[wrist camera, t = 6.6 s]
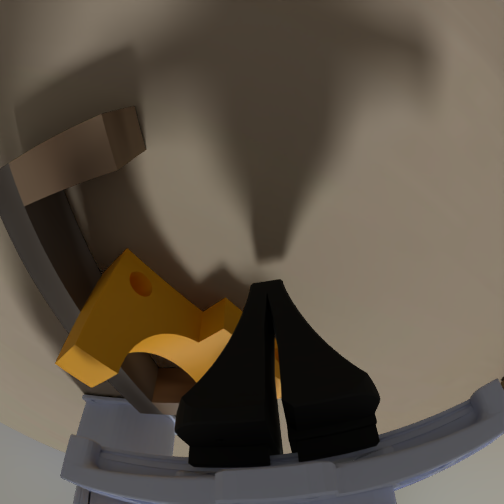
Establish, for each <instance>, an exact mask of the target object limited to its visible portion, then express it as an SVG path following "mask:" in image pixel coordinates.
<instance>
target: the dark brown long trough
mask: <svg viewBox="0 0 504 504" xmlns="http://www.w3.org/2000/svg"><path fill="white" fill-rule="evenodd" d="M145 150H146V148H145V144H144V141H143V137H142V133H141V129H140V126H139V122H138V118H137V114H136V110H135V106H132V107H128V108H123V109H119V110H115V111H111V112H107V113H103V114H100V115H98V116H95V117H93V118H91V119H89V120H86V121H84V122H82V123H80V124H78V125H76V126H73V127H71V128H69V129H67V130H65V131H63V132H61V133H59V134H57V135H56V136H54V137H52V138H50V139H48V140H46V141H44V142H43V143H41V144H39V145H37V146H36V147H34V148H32V149H30V150H29V151H27V152H25V153H24V154H22V155H21V156H19V157H17V158H16V159H14V160H13V161H11V162H10V163H8V164H7V165H5V166H4V167H2V168H1V169H0V216H1V218H2V221H3V223H4V225H5V228H6V230H7V232H8V234H9V236H10V238H11V240H12V242H13V244H14V246H15V248H16V250H17V252H18V254H19V256H20V258H21V260H22V262H23V264H24V265H25V267H26V269H27V271H28V273H29V274H30V276H31V278H32V279H33V281H34V283H35V284H36V286H37V288H38V289H39V291H40V293H41V294H42V296H43V297H44V299H45V300H46V302H47V303H48V305H49V307H50V308H51V309H52V311H53V312H54V314H55V315H56V317H57V318H58V320H59V321H60V322H61V324H62V325H63V327H64V328H65V329H66V331H67V332H68V333H70V331H71V329H72V327H73V325H74V324H75V322H76V320H77V318H78V316H79V314H80V312H81V310H82V309H83V307H84V305H85V303H86V301H87V300H88V298H89V296H90V294H91V293H92V291H93V289H94V287H95V286H96V284H97V282H98V281H99V279H100V277H101V276H102V275H101V273H100V271H99V269H98V267H97V265H96V263H95V261H94V259H93V257H92V255H91V253H90V251H89V249H88V247H87V245H86V243H85V241H84V238H83V236H82V234H81V232H80V229H79V227H78V225H77V223H76V220H75V218H74V216H73V213H72V211H71V208H70V206H69V203H68V201H67V198H66V196H65V193H64V189H66V188H69V187H72V186H74V185H77V184H80V183H82V182H85V181H88V180H91V179H93V178H96V177H99V176H102V175H105V174H108V173H111V172H114V171H117V170H119V169H120V168H121V167H123V166H124V165H125V164H127V163H128V162H130V161H131V160H132V159H134V158H135V157H136V156H138V155H139V154H141V153H142V152H144V151H145ZM107 380H108V381H109V382H110V384H111V385H112V386H113V387H114V388H115V389H116V390H117V391H118V392H119V393H120V394H121V395H122V396H123V397H124V398H125V399H126V400H127V401H128V402H129V403H130V404H131V405H132V406H133V407H134V408H135V409H136V410H137V411H138V412H139V413H142V414H160V415H176V413H177V409H178V406H179V403H180V399H181V397H182V396H183V395H184V394H185V393H187V392H188V391H189V390H190V389H191V388H192V387H193V386H194V385H195V384H196V382H195V380H194V379H193V378H192V377H191V376H190V375H189V374H188V373H187V372H186V371H184V370H183V369H182V368H158V366H157V365H156V363H155V362H154V361H153V359H152V358H151V356H150V355H149V353H147V352H132V353H128V355H127V356H126V357H125V359H124V361H123V363H122V365H121V367H120V370H119V372H118V374H116V375H115V376H113V377H111V378H109V379H107Z"/></svg>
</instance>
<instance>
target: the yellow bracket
mask: <svg viewBox="0 0 504 504" xmlns="http://www.w3.org/2000/svg"><path fill="white" fill-rule="evenodd" d="M241 315H242V311H241V310H240V309H239V308H238V307H236V306H235V305H234V304H233V303H232V302H231V301H229V300H228V299H227V298H226V297H225V298H224V299H222V300H221V301H219V302H218V303H216V304H214V305H213V306H211V307H210V308H208V309H207V310H205V311H203V312H202V311H201V310H200V309H199V308H197V307H196V306H195V305H194V304H192V303H191V302H190V301H189V300H187V299H186V298H185V297H184V296H182V295H181V294H180V293H179V292H177V291H176V290H175V289H174V288H173V287H171V286H170V285H169V284H168V283H167V282H165V281H164V280H163V279H162V278H161V277H160V276H158V275H157V274H156V273H155V272H154V271H153V270H151V269H150V268H149V267H148V266H147V265H146V264H144V263H143V262H142V261H141V260H140V259H139V258H138V257H137V256H135V255H134V254H133V253H132V252H131V251H130V250H129V249H128V248H127V249H126V250H125V251H124V252H123V253H122V254H121V255H120V256H119V257H118V258H117V259H116V260H115V261H114V262H113V263H112V264H111V265H110V266H109V267H108V268H107V270H106V271H105V272H104V273H103V274H102V276H101V277H100V279H99V281H98V282H97V284H96V286H95V287H94V289H93V291H92V293H91V294H90V296H89V298H88V300H87V301H86V303H85V305H84V307H83V309H82V310H81V312H80V314H79V316H78V318H77V320H76V322H75V324H74V325H73V327H72V329H71V331H70V333H69V335H68V337H67V339H66V341H65V343H64V345H63V347H62V349H61V352H60V354H59V356H58V358H57V360H56V362H55V364H56V365H58V366H59V367H61V368H62V369H64V370H65V371H66V372H68V373H69V374H71V375H72V376H74V377H75V378H77V379H78V380H80V381H81V382H83V383H85V384H86V385H88V386H89V387H91V388H92V387H94V386H96V385H98V384H100V383H102V382H104V381H105V380H107V379H109V378H111V377H113V376H115V375H116V374H118V372H119V370H120V367H121V365H122V363H123V361H124V359H125V357H126V356H127V355H128V353H132V352H147V353H152V354H156V355H159V356H161V357H164V358H166V359H168V360H170V361H172V362H173V363H175V364H177V365H178V366H179V367H181V368H182V369H183V370H184V371H186V372H187V373H188V374H189V375H190V376H191V377H192V378H193V379H194V380H195V382H196V383H197V382H198V381H199V380H200V379H201V378H202V376H203V375H204V374H205V373H206V372H207V371H208V369H209V368H210V367H211V366H212V365H213V363H214V362H215V361H216V359H217V358H218V356H219V355H220V354H221V352H222V351H223V349H224V348H225V346H226V344H227V343H228V341H229V339H230V338H231V336H232V334H233V332H234V330H235V328H236V326H237V324H238V322H239V320H240V317H241ZM275 384H276V393H277V399H279V398H281V382H280V368H279V356H278V346H277V341H276V338H275Z"/></svg>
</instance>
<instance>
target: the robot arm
mask: <svg viewBox="0 0 504 504" xmlns="http://www.w3.org/2000/svg"><path fill="white" fill-rule="evenodd" d="M275 337H276V341H277V346H278V356H279V368H280V382H281V398H282V404H283V408H284V413H285V418H286V422H287V429H288V439H289V442H290V447H291V451H292V453H289V454H283V448H282V439H281V430H280V421H279V412H278V403H277V393H276V384H275ZM82 398H83V400H85V401H86V405H85V408H84V411H83V414H82V418H81V421H80V424H79V428H78V431H77V435H73V434H72V435H71V436H70V439H69V443H68V447H67V450H66V455H65V458H64V462H63V467H62V471H61V475H60V476H61V478H62V479H64V480H67V481H69V482H71V483H73V484H75V485H77V486H76V491H75V496H74V502H73V504H397V503H396V499H395V493H394V491H395V490H398V489H401V488H403V487H406V486H408V485H411V484H414V483H416V482H418V481H421V480H423V479H425V478H428V477H430V476H432V475H434V474H436V473H438V472H440V471H442V470H445V469H446V468H449V467H451V466H452V465H454V464H456V463H458V462H460V461H461V460H464V459H465V458H467V457H469V456H471V455H472V454H474V453H476V452H478V451H479V450H481V449H482V448H484V447H486V446H487V445H489V444H491V443H492V442H493V441H495V440H496V439H497V438H498V437H500V436H501V435H502V434H504V390H503V388H502V386H501V384H500V382H499V380H498V379H495V380H493V381H491V382H490V383H488V384H486V385H484V386H482V387H481V388H479V389H478V390H477V391H475V392H474V393H473V395H472V396H471V397H470V399H469V400H467V401H465V402H463V403H461V404H459V405H456V406H454V407H452V408H450V409H448V410H446V411H443V412H441V413H439V414H436V415H434V416H431V417H429V418H426V419H424V420H421V421H419V422H416V423H413V424H411V425H408V426H405V427H402V428H399V429H396V430H393V431H390V432H387V433H383V434H380V435H378V432H377V428H376V423H377V420H376V416H375V411H376V409H377V407H378V405H379V403H380V396H379V393H378V391H377V389H376V387H375V385H374V383H373V381H372V380H371V378H370V377H369V375H368V374H367V373H366V372H364V371H363V370H361V369H359V368H358V367H356V366H355V365H353V364H352V363H351V362H349V361H348V360H346V359H345V358H344V357H342V356H341V355H340V354H339V353H338V352H336V351H335V350H334V349H333V348H332V347H331V346H329V345H328V344H327V343H326V342H325V341H324V340H323V339H322V338H321V337H320V336H319V335H318V334H317V333H316V332H315V331H314V330H313V328H312V327H311V326H310V325H309V324H308V323H307V321H306V320H305V319H304V317H303V316H302V315H301V313H300V312H299V311H298V309H297V308H296V306H295V305H294V303H293V302H292V300H291V298H290V297H289V295H288V293H287V291H286V289H285V287H284V284H283V281H282V280H280V279H278V280H272V281H266V282H259V283H253V284H252V285H251V287H250V292H249V296H248V299H247V302H246V305H245V307H244V310H243V312H242V315H241V317H240V320H239V322H238V324H237V326H236V328H235V330H234V332H233V334H232V336H231V338H230V339H229V341H228V343H227V344H226V346H225V348H224V349H223V351H222V352H221V354H220V355H219V356H218V358H217V359H216V361H215V362H214V363H213V365H212V366H211V367H210V368H209V369H208V371H207V372H206V373H205V374H204V375H203V376H202V378H201V379H200V380H199V381H198V382H197V383H196V384H195V385H194V386H193V387H192V388H191V389H190V390H189V391H188V392H187V393H185V394H184V395H183V396H182V397H181V399H180V403H179V406H178V409H177V413H176V417H175V416H174V415H160V414H142V413H139V412H138V411H137V410H136V409H135V408H134V407H133V406H132V405H131V404H130V403H129V402H128V401H127V400H126V399H125V398H113V397H102V396H94V395H86V394H84V395H83V396H82ZM175 435H178V436H179V437H180V438H181V439H182V440H183V441H184V442H185V443H187V444H188V445H189V446H190V447H189V457H174V456H172V455H173V446H174V438H175ZM353 460H354V461H353Z"/></svg>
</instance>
